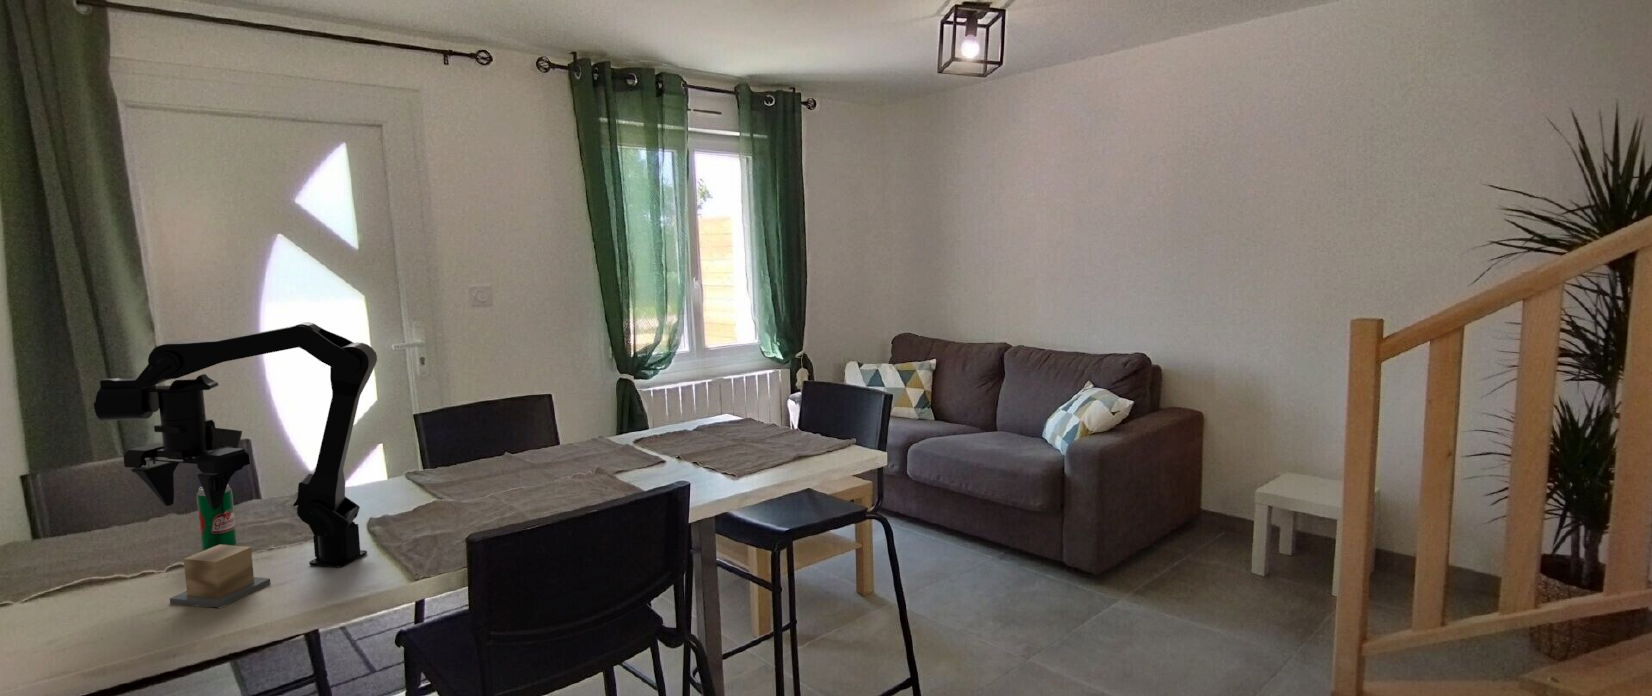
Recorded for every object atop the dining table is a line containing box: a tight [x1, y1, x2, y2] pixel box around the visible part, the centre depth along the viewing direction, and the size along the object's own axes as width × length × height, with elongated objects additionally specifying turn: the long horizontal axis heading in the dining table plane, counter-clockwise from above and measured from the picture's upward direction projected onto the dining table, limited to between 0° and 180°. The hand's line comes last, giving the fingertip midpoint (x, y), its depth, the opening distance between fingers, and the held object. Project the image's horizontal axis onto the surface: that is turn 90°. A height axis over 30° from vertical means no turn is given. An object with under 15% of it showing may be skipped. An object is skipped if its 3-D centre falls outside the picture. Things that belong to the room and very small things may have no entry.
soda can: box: [196, 483, 238, 551], centre depth 139 cm, size 5×5×12 cm
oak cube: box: [183, 544, 255, 598], centre depth 122 cm, size 6×6×6 cm
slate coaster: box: [169, 576, 271, 609], centre depth 122 cm, size 9×9×1 cm
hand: (192, 507), depth 127 cm, fingers open, 9 cm apart
